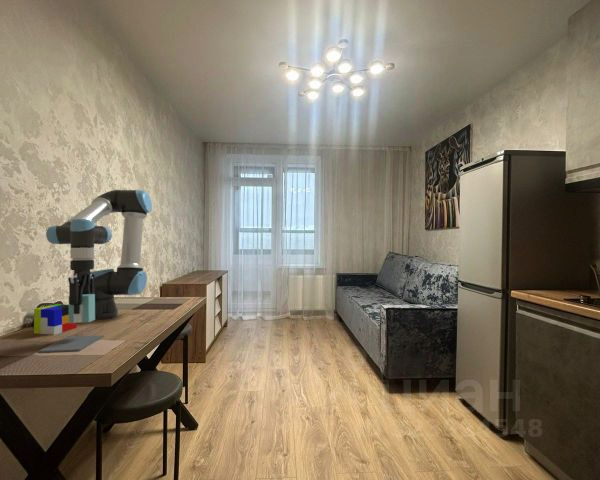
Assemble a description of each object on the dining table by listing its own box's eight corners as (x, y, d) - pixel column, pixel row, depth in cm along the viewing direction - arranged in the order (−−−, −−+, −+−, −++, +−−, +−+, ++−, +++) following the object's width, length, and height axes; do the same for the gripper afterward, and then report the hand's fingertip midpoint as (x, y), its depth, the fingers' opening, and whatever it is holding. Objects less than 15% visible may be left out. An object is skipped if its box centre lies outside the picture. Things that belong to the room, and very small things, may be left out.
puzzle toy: (54, 334, 127) (54, 310, 127) (34, 333, 129) (34, 308, 129) (76, 328, 137) (76, 305, 137) (57, 326, 139) (57, 304, 139)
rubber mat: (67, 338, 123) (67, 336, 123) (103, 336, 124) (103, 335, 124) (38, 352, 107) (38, 350, 107) (79, 351, 108) (79, 349, 108)
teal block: (75, 320, 123) (75, 294, 123) (95, 319, 124) (94, 293, 124) (68, 323, 118) (68, 296, 119) (88, 322, 119) (88, 295, 119)
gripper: (84, 258, 130) (84, 315, 129) (56, 260, 112) (56, 326, 112) (104, 258, 131) (104, 315, 130) (79, 260, 113) (79, 326, 113)
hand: (82, 320), depth 121 cm, fingers closed on teal block, 4 cm apart
